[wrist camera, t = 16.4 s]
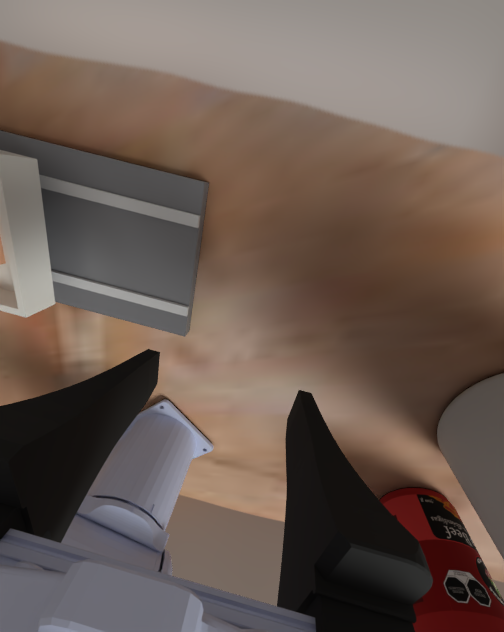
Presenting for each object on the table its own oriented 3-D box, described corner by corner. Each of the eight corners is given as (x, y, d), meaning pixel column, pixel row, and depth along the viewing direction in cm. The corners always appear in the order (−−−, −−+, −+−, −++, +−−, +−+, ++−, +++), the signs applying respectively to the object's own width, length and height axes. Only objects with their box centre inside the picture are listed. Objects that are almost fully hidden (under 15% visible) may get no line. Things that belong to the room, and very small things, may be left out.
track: (208, 182, 18) (194, 180, 15) (189, 331, 23) (175, 349, 21) (-91, 107, 19) (-156, 92, 16) (-44, 268, 24) (-87, 278, 21)
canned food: (465, 516, 29) (557, 687, 19) (395, 534, 32) (442, 690, 22) (431, 476, 27) (514, 642, 17) (360, 498, 30) (395, 651, 20)
